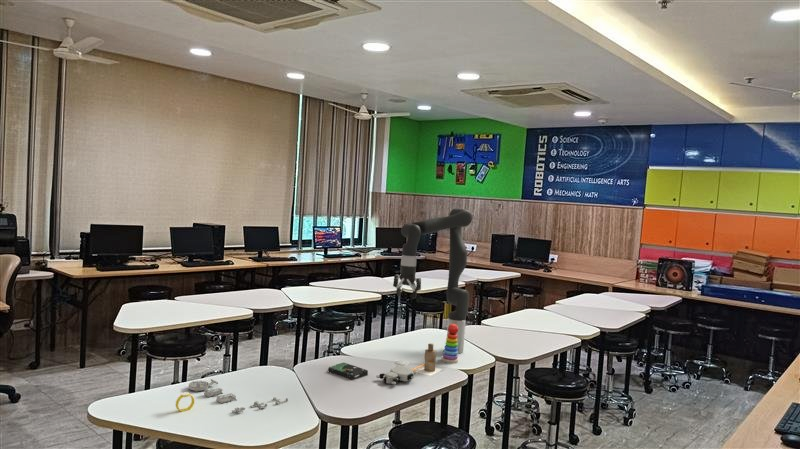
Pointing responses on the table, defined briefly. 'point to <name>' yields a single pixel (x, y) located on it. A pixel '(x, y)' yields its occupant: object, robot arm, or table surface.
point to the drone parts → (202, 386)
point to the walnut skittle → (430, 358)
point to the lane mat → (417, 368)
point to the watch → (182, 397)
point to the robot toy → (397, 375)
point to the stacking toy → (451, 345)
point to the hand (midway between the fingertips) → (406, 297)
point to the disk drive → (348, 371)
